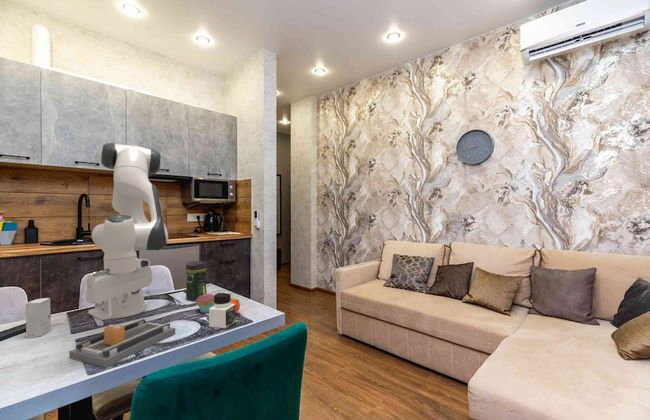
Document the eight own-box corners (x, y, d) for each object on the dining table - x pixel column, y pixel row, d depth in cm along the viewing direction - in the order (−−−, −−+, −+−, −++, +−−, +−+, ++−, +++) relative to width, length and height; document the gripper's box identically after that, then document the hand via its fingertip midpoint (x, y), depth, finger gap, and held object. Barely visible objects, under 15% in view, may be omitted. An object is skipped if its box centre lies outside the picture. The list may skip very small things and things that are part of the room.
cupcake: (210, 314, 126) (209, 286, 125) (191, 313, 127) (191, 285, 127) (220, 307, 134) (220, 281, 134) (202, 307, 135) (202, 280, 135)
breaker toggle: (104, 343, 94) (104, 326, 94) (113, 339, 97) (113, 322, 96) (115, 346, 92) (114, 328, 92) (124, 342, 95) (124, 324, 95)
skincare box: (40, 336, 104) (40, 302, 104) (25, 338, 103) (24, 303, 103) (51, 329, 110) (51, 297, 110) (37, 331, 109) (36, 298, 109)
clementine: (244, 312, 129) (244, 295, 129) (238, 318, 122) (238, 300, 122) (227, 311, 129) (227, 295, 129) (219, 317, 122) (219, 300, 122)
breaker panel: (69, 357, 90) (69, 345, 90) (143, 327, 112) (142, 318, 112) (105, 367, 84) (105, 354, 84) (175, 333, 106) (175, 323, 106)
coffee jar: (209, 298, 148) (209, 261, 148) (195, 302, 142) (195, 263, 142) (197, 295, 154) (197, 259, 153) (183, 299, 147) (183, 261, 147)
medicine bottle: (226, 328, 111) (225, 296, 111) (208, 327, 112) (208, 295, 112) (235, 321, 118) (235, 291, 118) (219, 320, 119) (219, 290, 119)
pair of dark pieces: (76, 348, 90) (76, 344, 90) (143, 322, 111) (143, 319, 111) (105, 356, 85) (105, 352, 85) (169, 327, 106) (169, 324, 106)
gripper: (94, 274, 86) (97, 321, 86) (154, 259, 105) (155, 298, 106) (79, 272, 87) (81, 319, 88) (140, 258, 107) (142, 296, 108)
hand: (122, 307), depth 97 cm, fingers closed
